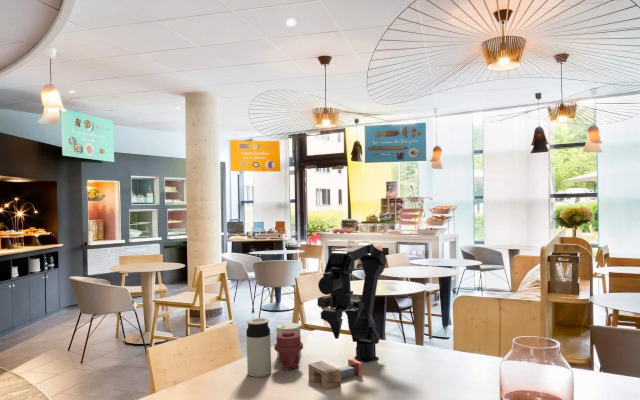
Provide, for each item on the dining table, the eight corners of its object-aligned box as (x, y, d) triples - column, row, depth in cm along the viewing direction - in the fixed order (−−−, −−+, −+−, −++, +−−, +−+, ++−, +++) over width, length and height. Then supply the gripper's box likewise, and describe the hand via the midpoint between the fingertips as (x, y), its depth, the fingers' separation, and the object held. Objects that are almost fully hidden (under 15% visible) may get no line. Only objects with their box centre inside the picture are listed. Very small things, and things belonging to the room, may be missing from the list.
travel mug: (275, 371, 170) (274, 318, 170) (263, 378, 163) (261, 324, 163) (255, 368, 173) (254, 316, 173) (243, 375, 166) (241, 322, 166)
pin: (351, 371, 167) (350, 358, 167) (362, 376, 162) (361, 362, 162) (331, 377, 163) (330, 363, 163) (341, 382, 157) (341, 368, 157)
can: (271, 357, 185) (270, 325, 185) (289, 351, 192) (288, 320, 192) (289, 362, 179) (288, 328, 179) (306, 355, 186) (305, 323, 186)
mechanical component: (306, 363, 177) (299, 373, 167) (279, 362, 179) (271, 371, 169) (305, 328, 177) (298, 336, 167) (278, 328, 179) (270, 335, 169)
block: (321, 375, 164) (321, 360, 164) (340, 385, 154) (340, 369, 154) (308, 379, 161) (308, 363, 161) (327, 389, 152) (326, 373, 152)
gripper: (336, 282, 179) (338, 325, 179) (306, 292, 163) (308, 339, 163) (363, 284, 172) (365, 328, 173) (334, 295, 157) (336, 343, 157)
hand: (344, 334), depth 167 cm, fingers open, 9 cm apart
